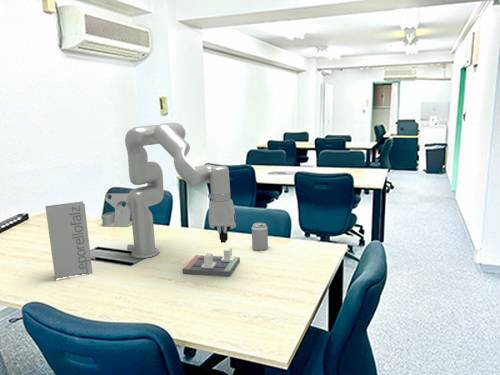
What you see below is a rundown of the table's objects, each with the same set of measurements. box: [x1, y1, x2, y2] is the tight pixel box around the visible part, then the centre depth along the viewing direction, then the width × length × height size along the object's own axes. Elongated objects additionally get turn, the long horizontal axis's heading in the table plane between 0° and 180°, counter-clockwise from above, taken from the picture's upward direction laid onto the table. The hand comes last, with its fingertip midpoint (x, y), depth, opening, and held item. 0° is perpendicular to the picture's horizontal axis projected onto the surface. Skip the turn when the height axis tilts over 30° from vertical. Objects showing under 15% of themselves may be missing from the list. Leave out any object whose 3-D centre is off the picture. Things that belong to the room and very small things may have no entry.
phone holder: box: [101, 192, 132, 228], centre depth 245 cm, size 17×10×18 cm, turn 79°
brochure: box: [45, 200, 94, 279], centre depth 171 cm, size 14×6×30 cm, turn 117°
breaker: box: [221, 246, 236, 262], centre depth 178 cm, size 5×5×5 cm
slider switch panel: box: [182, 254, 241, 277], centre depth 177 cm, size 20×16×2 cm
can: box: [251, 222, 269, 252], centre depth 196 cm, size 8×8×12 cm
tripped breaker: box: [201, 252, 217, 269], centre depth 172 cm, size 5×5×5 cm
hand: (223, 241), depth 169 cm, fingers closed
